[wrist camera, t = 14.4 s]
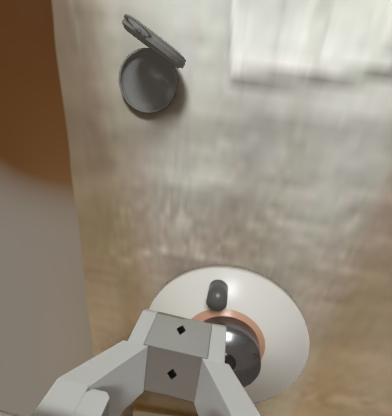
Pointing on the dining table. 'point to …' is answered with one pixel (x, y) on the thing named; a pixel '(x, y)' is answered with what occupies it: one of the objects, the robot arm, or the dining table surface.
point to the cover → (240, 348)
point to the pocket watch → (149, 70)
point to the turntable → (245, 318)
